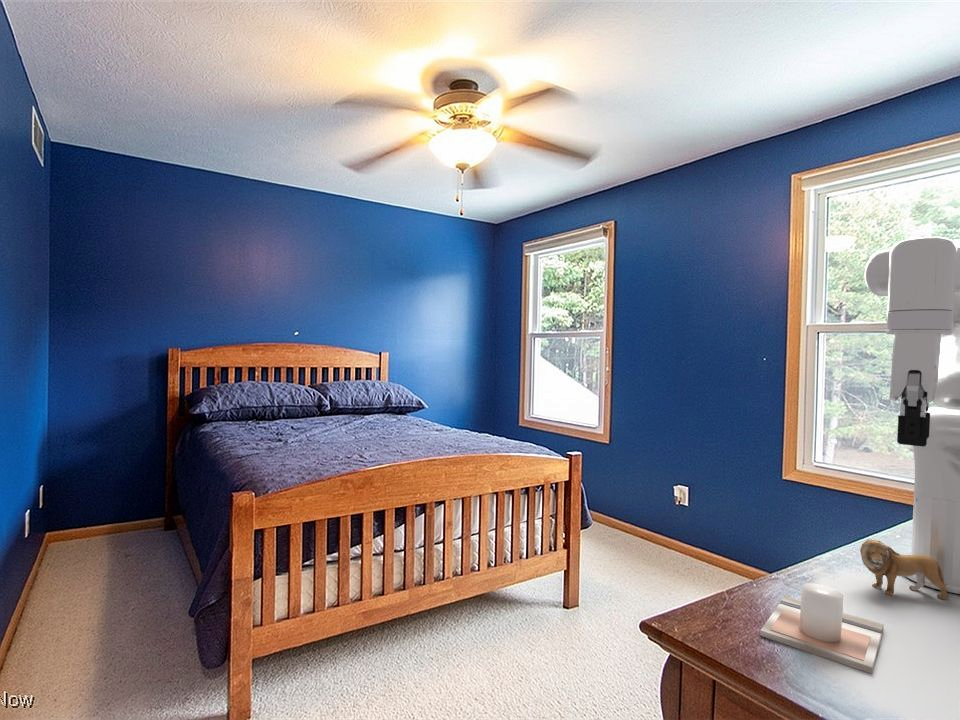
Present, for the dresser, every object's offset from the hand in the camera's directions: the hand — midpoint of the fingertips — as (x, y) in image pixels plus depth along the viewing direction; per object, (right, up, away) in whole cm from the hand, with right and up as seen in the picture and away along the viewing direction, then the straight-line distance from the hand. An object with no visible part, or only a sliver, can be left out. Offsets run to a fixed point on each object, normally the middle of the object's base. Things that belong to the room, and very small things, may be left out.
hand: (913, 441), depth 79 cm
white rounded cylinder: (-15, -27, -3) cm, 31 cm away
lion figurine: (+9, -28, +13) cm, 33 cm away
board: (-14, -28, -1) cm, 31 cm away
